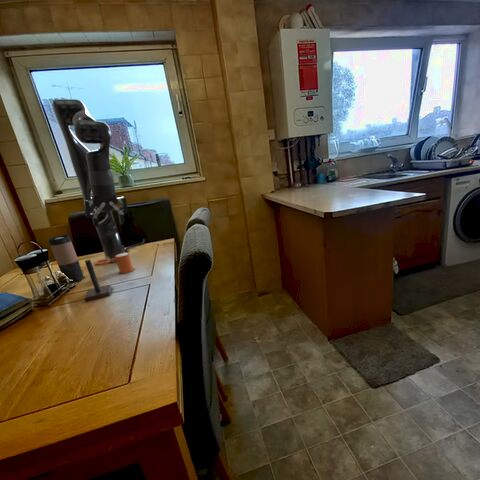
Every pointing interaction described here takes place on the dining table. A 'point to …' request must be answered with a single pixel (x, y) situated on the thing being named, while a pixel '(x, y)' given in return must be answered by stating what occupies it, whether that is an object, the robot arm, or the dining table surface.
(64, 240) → the travel mug
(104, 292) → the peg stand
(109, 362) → the dining table surface
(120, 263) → the measuring cup
